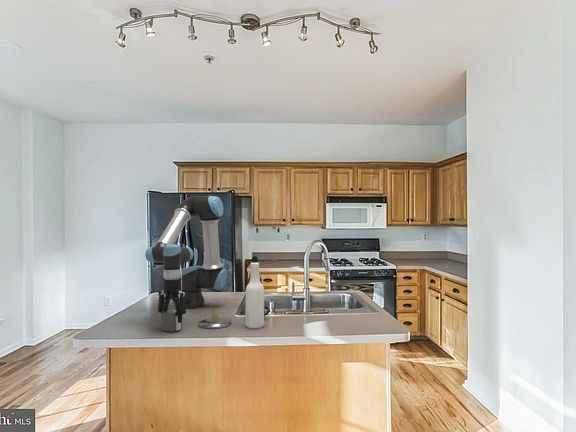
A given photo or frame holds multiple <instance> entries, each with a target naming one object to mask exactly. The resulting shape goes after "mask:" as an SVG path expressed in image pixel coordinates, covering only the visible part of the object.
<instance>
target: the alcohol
mask: <svg viewBox="0 0 576 432" xmlns="http://www.w3.org/2000/svg"><path fill="white" fill-rule="evenodd" d="M249 276H250V282H249V284H248V283H247V285H246V288H245V327H246V328H247V329H251V330H252V329H254V330H255V329H261V328H263V327H264V325H265V319H264V301H265V288H264V285H263V284H261V282H260V277H261V275H260V262H258V263H252V262H251V263H250V275H249Z"/></svg>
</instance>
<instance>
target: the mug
mask: <svg viewBox="0 0 576 432" xmlns="http://www.w3.org/2000/svg"><path fill="white" fill-rule="evenodd" d="M269 312H270V309H269V307H268V306H266V301H265V300H264V320H265V319H266V316H268V315H269Z"/></svg>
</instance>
